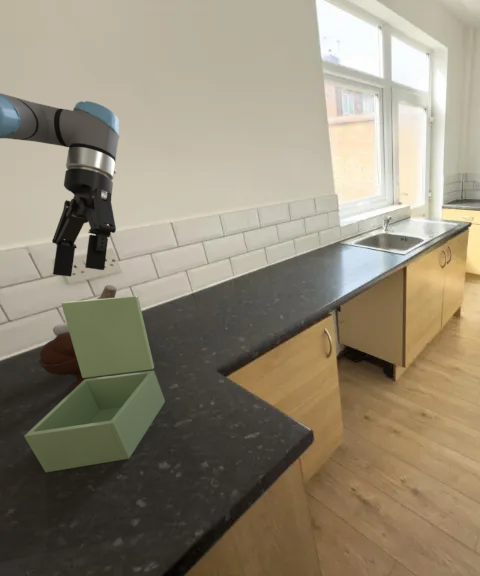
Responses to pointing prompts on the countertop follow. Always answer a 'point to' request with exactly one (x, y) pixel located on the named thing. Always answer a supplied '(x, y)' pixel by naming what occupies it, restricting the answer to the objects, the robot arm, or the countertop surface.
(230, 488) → the countertop surface
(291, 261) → the countertop surface
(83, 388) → the chest
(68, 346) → the ice cream bowl
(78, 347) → the chest lid
